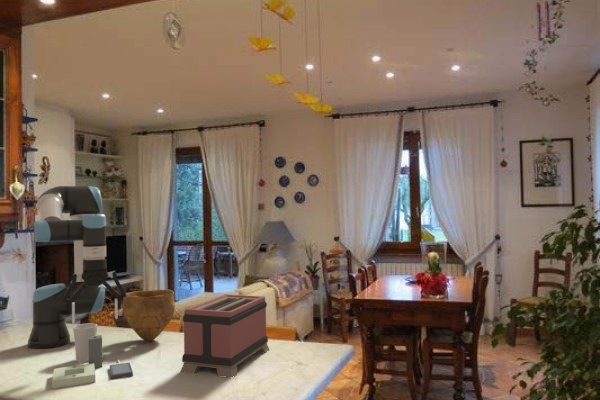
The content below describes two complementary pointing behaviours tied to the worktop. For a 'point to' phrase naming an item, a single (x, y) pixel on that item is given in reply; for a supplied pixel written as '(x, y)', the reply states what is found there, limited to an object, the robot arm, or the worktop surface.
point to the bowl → (149, 311)
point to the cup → (83, 340)
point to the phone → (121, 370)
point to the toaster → (224, 333)
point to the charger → (95, 350)
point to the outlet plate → (73, 375)
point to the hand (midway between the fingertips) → (95, 320)
